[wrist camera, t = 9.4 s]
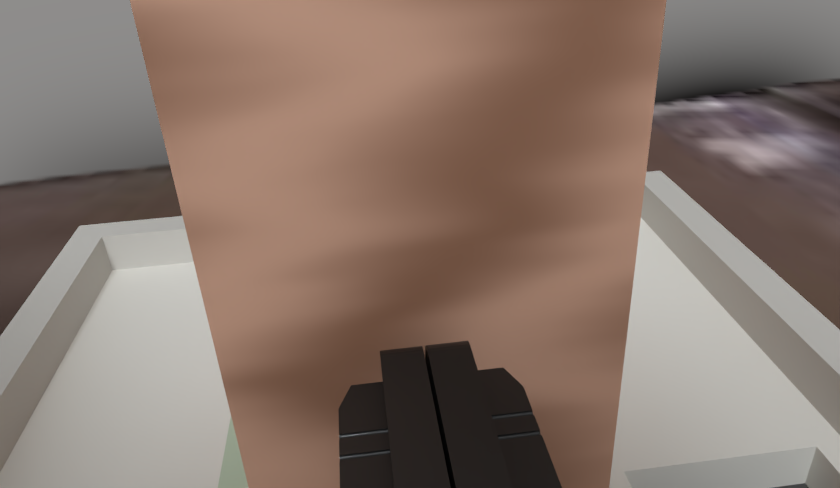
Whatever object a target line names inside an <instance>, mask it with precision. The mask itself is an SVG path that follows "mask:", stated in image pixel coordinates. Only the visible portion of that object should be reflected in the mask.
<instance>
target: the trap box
mask: <svg viewBox="0 0 840 488" xmlns="http://www.w3.org/2000/svg"><path fill="white" fill-rule="evenodd" d="M0 488H249V487H248V483H247V479H246V475H245V471H244V466H243V462H242V458H241V454H240V450H239V446H238V442H237V438H236V434H235V430H234V425H233V421H232V417H231V413H230V409H229V405H228V401H227V397H226V393H225V389H224V384H223V380H222V376H221V372H220V368H219V364H218V360H217V356H216V352H215V347H214V343H213V339H212V335H211V331H210V327H209V323H208V319H207V315H206V311H205V306H204V302H203V298H202V294H201V290H200V286H199V282H198V278H197V274H196V270H195V265H194V261H193V257H192V253H191V249H190V245H189V241H188V237H187V233H186V229H185V224H184V220H183V216H178V217H167V218H157V219H146V220H136V221H125V222H115V223H104V224H93V225H83V226H79V227H78V229H77V230H76V232H75V233H74V234H73V236H72V237H71V239H70V240H69V241H68V243H67V244H66V245H65V247H64V248H63V250H62V251H61V252H60V254H59V255H58V257H57V258H56V259H55V261H54V262H53V264H52V265H51V266H50V268H49V269H48V271H47V272H46V273H45V275H44V276H43V277H42V279H41V280H40V282H39V283H38V284H37V286H36V287H35V289H34V290H33V291H32V293H31V294H30V296H29V297H28V298H27V300H26V301H25V303H24V304H23V305H22V307H21V308H20V309H19V311H18V312H17V314H16V315H15V316H14V318H13V319H12V321H11V322H10V323H9V325H8V326H7V328H6V329H5V330H4V332H3V333H2V335H1V336H0ZM609 488H840V330H839V329H838V328H837V327H836V326H835V325H833V324H832V323H831V322H830V321H829V320H828V319H827V318H826V317H824V316H823V315H822V314H821V313H820V312H819V311H818V310H817V309H815V308H814V307H813V306H812V305H811V304H810V303H809V302H808V301H806V300H805V299H804V298H803V297H802V296H801V295H800V294H799V293H797V292H796V291H795V290H794V289H793V288H792V287H791V286H790V285H788V284H787V283H786V282H785V281H784V280H783V279H782V278H781V277H779V276H778V275H777V274H776V273H775V272H774V271H773V270H772V269H770V268H769V267H768V266H767V265H766V264H765V263H764V262H763V261H761V260H760V259H759V258H758V257H757V256H756V255H755V254H754V253H752V252H751V251H750V250H749V249H748V248H747V247H746V246H745V245H743V244H742V243H741V242H740V241H739V240H738V239H737V238H736V237H734V236H733V235H732V234H731V233H730V232H729V231H728V230H727V229H725V228H724V227H723V226H722V225H721V224H720V223H719V222H718V221H716V220H715V219H714V218H713V217H712V216H711V215H710V214H709V213H707V212H706V211H705V210H704V209H703V208H702V207H701V206H700V205H698V204H697V203H696V202H695V201H694V200H693V199H692V198H691V197H689V196H688V195H687V194H686V193H685V192H684V191H683V190H682V189H680V188H679V187H678V186H677V185H676V184H675V183H674V182H673V181H671V180H670V179H669V178H668V177H667V176H666V175H665V174H664V173H662V172H661V171H653V172H646V178H645V186H644V195H643V203H642V212H641V220H640V229H639V237H638V246H637V254H636V263H635V271H634V280H633V288H632V297H631V306H630V314H629V323H628V331H627V340H626V348H625V357H624V365H623V374H622V382H621V391H620V399H619V408H618V416H617V425H616V433H615V442H614V450H613V459H612V467H611V476H610V484H609Z"/></svg>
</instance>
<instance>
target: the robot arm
mask: <svg viewBox="0 0 840 488" xmlns="http://www.w3.org/2000/svg"><path fill="white" fill-rule="evenodd" d="M380 360H381V370H382V380H383V382H375V383H366V384H358V385H351V386H350V388H349V390H348V392H347V394H346V395H345V397H344V399H343V401H342V403H341V405H340V407H339V457H340V461H339V467H340V488H562V486H561V484H560V481H559V478H558V476H557V473H556V471H555V468H554V465H553V463H552V460H551V457H550V455H549V452H548V450H547V447H546V444H545V442H544V439H543V437H542V435H541V434H540V429H539V426H538V423H537V421H536V418H535V416H534V415H533V410H532V408H531V405H530V402H529V400H528V397H527V395H526V392H525V389H524V387H523V386H522V385H521V384H520V383H519V382H518V381H517V380H516V379H515V378H514V377H513V376H512V375H511V374H510V373H509V372H508V371H507V370H506V369H504V368H503V367H502V368H493V369H485V370H478V369H477V366H476V363H475V359H474V356H473V353H472V349H471V346H470V343H469V341H460V342H451V343H442V344H433V345H426V346H425V356H424V351H423V347H422V346H417V347H408V348H399V349H391V350H382V351H380ZM425 360H426V361H425Z"/></svg>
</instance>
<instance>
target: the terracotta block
mask: <svg viewBox="0 0 840 488" xmlns="http://www.w3.org/2000/svg"><path fill="white" fill-rule="evenodd" d="M130 2H131V7H132V11H133V15H134V19H135V23H136V27H137V31H138V36H139V40H140V44H141V48H142V52H143V56H144V60H145V64H146V69H147V73H148V77H149V81H150V85H151V89H152V93H153V97H154V101H155V105H156V110H157V113H158V118H159V122H160V126H161V130H162V134H163V138H164V142H165V146H166V151H167V155H168V159H169V163H170V167H171V171H172V175H173V179H174V183H175V187H176V192H177V196H178V200H179V204H180V208H181V212H182V216H183V220H184V224H185V229H186V233H187V237H188V241H189V245H190V249H191V253H192V257H193V261H194V265H195V270H196V274H197V278H198V282H199V286H200V290H201V294H202V298H203V302H204V306H205V311H206V315H207V319H208V323H209V327H210V331H211V335H212V339H213V343H214V347H215V352H216V356H217V360H218V364H219V368H220V372H221V376H222V380H223V384H224V389H225V393H226V397H227V401H228V405H229V409H230V413H231V417H232V421H233V425H234V430H235V434H236V438H237V442H238V446H239V450H240V454H241V458H242V462H243V466H244V471H245V475H246V479H247V483H248V487H249V488H340V467H339V461H340V457H339V407H340V405H341V403H342V401H343V399H344V397H345V395H346V394H347V392H348V390H349V388H350V386H351V385H358V384H366V383H375V382H383V380H382V370H381V360H380V351H382V350H391V349H399V348H408V347H417V346H422V347H423V351H424V356H425V346H426V345H433V344H442V343H451V342H460V341H469V343H470V346H471V349H472V353H473V356H474V359H475V363H476V366H477V369H478V370H485V369H493V368H502V367H503V368H504V369H506V370H507V371H508V372H509V373H510V374H511V375H512V376H513V377H514V378H515V379H516V380H517V381H518V382H519V383H520V384H521V385H522V386H523V387H524V389H525V392H526V395H527V397H528V400H529V402H530V405H531V408H532V410H533V415H534V416H535V418H536V421H537V423H538V426H539V429H540V434H541V435H542V437H543V439H544V442H545V444H546V447H547V450H548V452H549V455H550V457H551V460H552V463H553V465H554V468H555V471H556V473H557V476H558V478H559V481H560V484H561V486H562V488H609V484H610V476H611V467H612V459H613V450H614V442H615V433H616V425H617V416H618V408H619V399H620V391H621V382H622V374H623V365H624V357H625V348H626V340H627V331H628V323H629V314H630V306H631V297H632V288H633V280H634V271H635V263H636V254H637V246H638V237H639V229H640V220H641V212H642V203H643V195H644V186H645V178H646V169H647V161H648V152H649V144H650V135H651V127H652V118H653V110H654V101H655V92H656V84H657V76H658V67H659V58H660V50H661V41H662V33H663V25H664V16H665V7H666V0H130ZM425 361H426V360H425Z"/></svg>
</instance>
